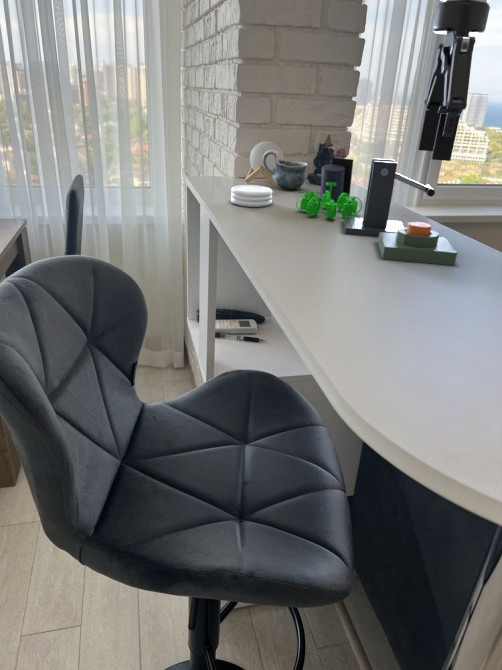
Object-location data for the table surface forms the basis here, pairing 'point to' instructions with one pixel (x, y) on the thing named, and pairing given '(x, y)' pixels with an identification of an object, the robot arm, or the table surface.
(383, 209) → the switch bracket
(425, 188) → the switch lever
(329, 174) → the speaker
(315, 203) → the chandelier
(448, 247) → the stop box
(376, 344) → the table surface
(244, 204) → the white stacked round discs
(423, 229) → the stop button
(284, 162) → the mug
